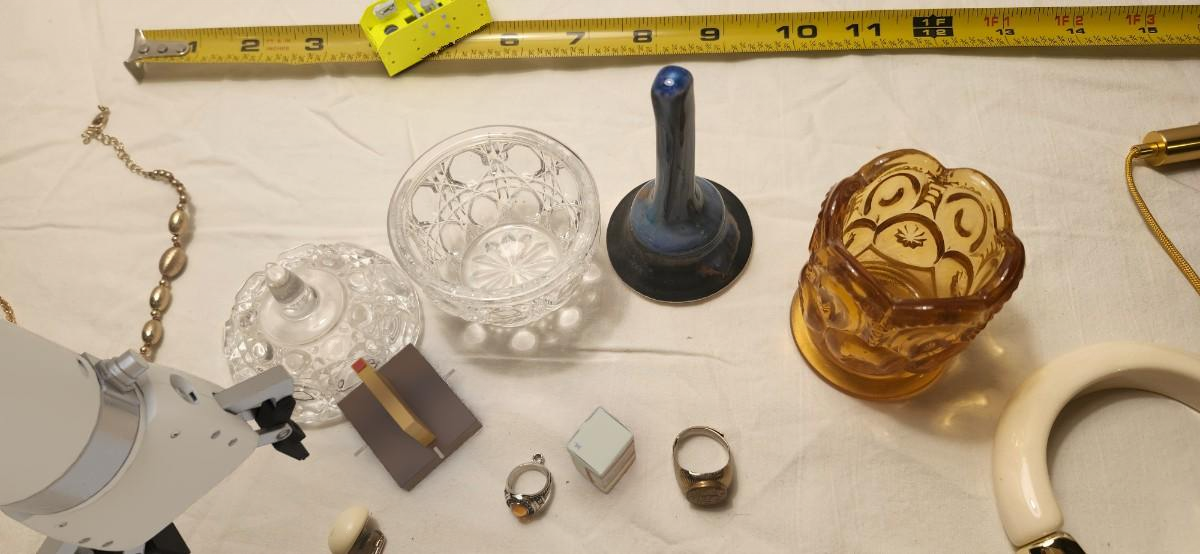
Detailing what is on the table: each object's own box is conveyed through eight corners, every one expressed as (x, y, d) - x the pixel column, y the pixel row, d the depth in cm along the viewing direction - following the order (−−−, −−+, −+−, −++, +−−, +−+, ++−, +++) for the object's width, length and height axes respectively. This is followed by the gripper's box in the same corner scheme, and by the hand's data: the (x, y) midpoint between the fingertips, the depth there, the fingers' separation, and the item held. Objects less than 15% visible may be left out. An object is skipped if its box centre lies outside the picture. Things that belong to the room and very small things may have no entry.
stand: (498, 419, 79) (492, 413, 77) (399, 507, 76) (390, 503, 74) (425, 336, 84) (418, 328, 82) (330, 416, 81) (319, 409, 79)
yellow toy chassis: (475, 2, 105) (460, -46, 98) (495, 26, 103) (481, -21, 96) (376, 55, 103) (352, 10, 95) (393, 81, 101) (370, 37, 93)
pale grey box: (607, 496, 75) (598, 478, 66) (574, 468, 76) (561, 447, 67) (640, 456, 76) (635, 433, 67) (607, 429, 78) (598, 403, 68)
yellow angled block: (436, 437, 76) (414, 419, 70) (425, 447, 76) (402, 430, 69) (386, 378, 80) (360, 355, 73) (375, 386, 79) (349, 365, 73)
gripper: (171, 270, 39) (312, 370, 55) (-142, 500, 35) (104, 539, 51) (241, 366, 37) (368, 444, 52) (-91, 628, 33) (154, 628, 48)
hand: (238, 491), depth 51 cm, fingers open, 9 cm apart
